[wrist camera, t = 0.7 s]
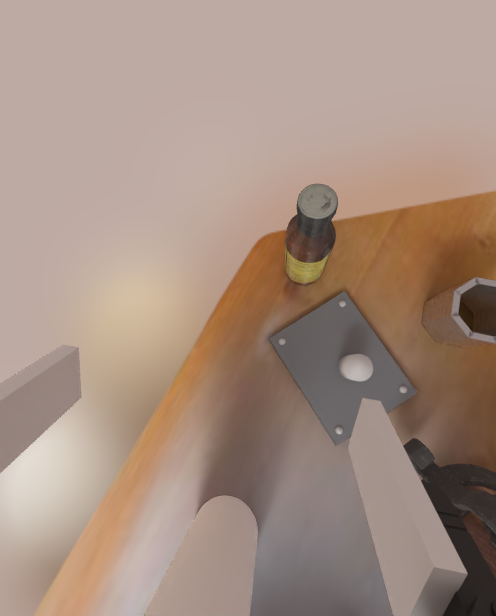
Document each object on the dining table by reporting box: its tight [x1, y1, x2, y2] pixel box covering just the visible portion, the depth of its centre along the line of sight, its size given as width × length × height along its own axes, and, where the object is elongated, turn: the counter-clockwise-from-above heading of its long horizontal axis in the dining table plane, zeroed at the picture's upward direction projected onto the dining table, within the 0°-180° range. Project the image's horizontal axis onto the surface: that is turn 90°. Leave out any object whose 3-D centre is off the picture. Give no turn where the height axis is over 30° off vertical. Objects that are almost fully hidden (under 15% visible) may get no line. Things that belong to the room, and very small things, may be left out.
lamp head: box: [421, 277, 496, 347], centre depth 42 cm, size 12×8×8 cm, turn 122°
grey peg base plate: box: [269, 291, 417, 445], centre depth 43 cm, size 18×14×6 cm
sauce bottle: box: [285, 184, 338, 285], centre depth 40 cm, size 6×6×20 cm
